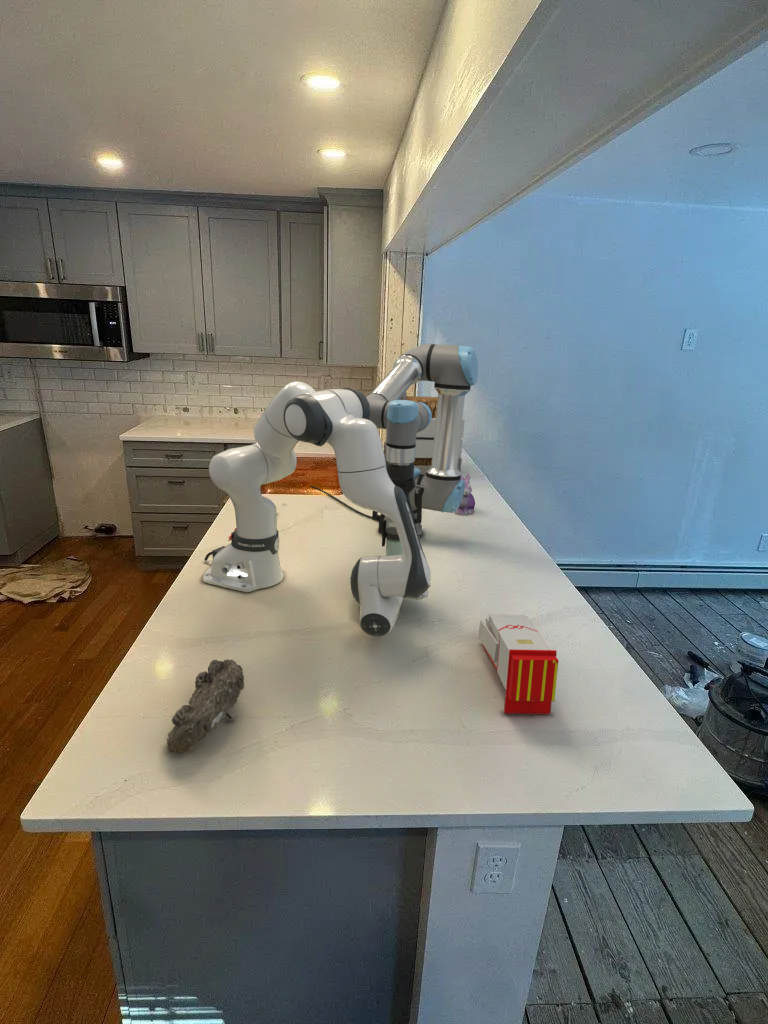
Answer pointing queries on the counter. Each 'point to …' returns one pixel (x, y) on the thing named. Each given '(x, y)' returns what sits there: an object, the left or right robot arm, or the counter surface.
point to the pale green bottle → (393, 547)
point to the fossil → (206, 705)
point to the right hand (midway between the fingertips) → (395, 545)
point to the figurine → (466, 498)
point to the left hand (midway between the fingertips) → (394, 570)
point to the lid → (392, 534)
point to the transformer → (427, 434)
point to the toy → (521, 662)
